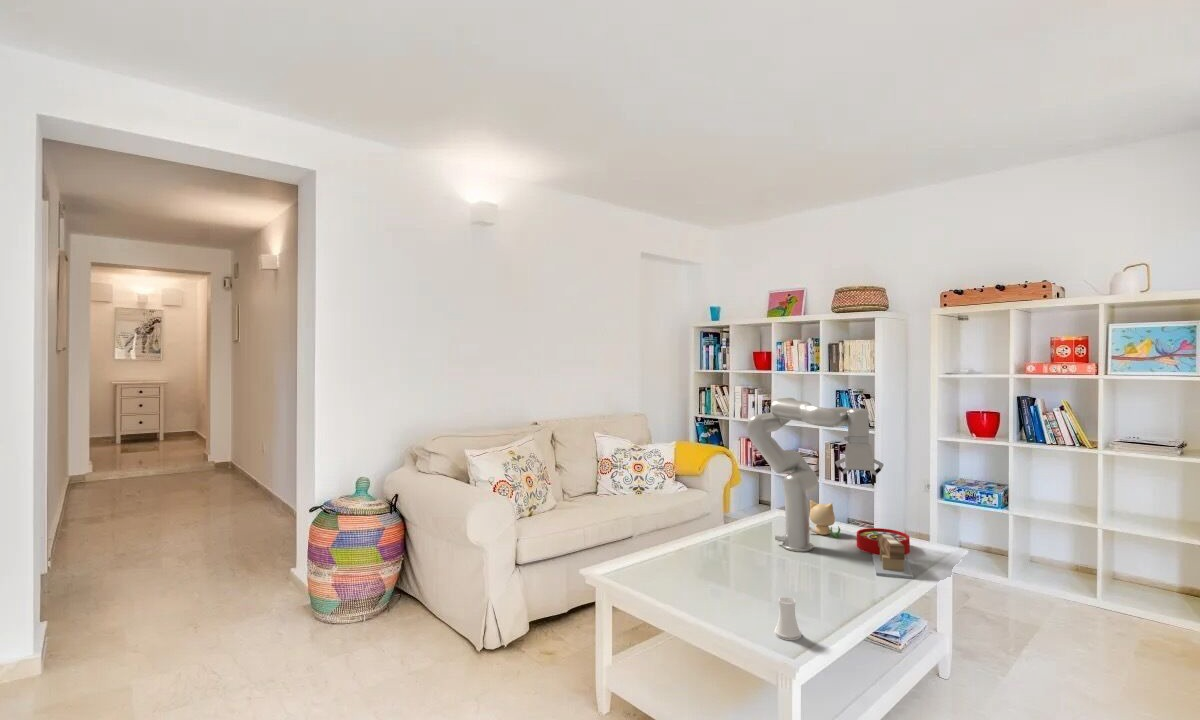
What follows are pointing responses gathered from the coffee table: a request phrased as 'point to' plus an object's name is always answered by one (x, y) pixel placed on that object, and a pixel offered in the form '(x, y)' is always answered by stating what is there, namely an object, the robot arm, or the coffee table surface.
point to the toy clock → (869, 539)
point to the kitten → (822, 518)
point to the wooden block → (891, 546)
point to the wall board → (891, 572)
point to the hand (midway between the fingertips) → (859, 484)
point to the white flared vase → (787, 620)
